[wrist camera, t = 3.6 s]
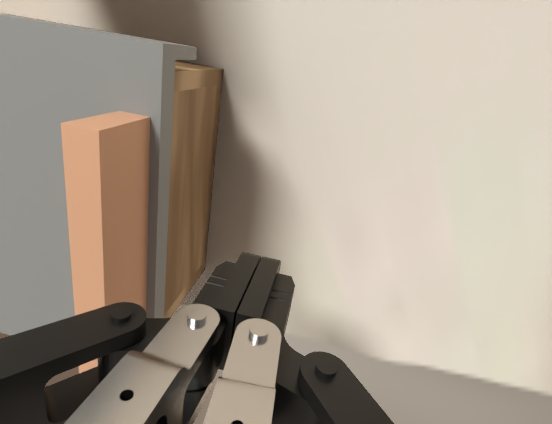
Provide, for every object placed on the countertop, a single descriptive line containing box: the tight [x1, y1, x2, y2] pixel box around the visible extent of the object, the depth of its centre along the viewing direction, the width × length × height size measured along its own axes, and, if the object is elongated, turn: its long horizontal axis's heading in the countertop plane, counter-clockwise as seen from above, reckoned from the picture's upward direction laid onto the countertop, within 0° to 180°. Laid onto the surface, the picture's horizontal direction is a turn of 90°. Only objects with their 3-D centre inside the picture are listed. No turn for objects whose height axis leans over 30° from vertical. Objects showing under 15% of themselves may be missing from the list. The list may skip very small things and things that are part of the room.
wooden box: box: [164, 61, 223, 318], centre depth 21 cm, size 18×13×7 cm
